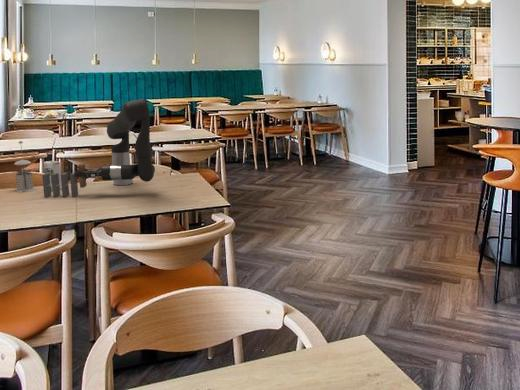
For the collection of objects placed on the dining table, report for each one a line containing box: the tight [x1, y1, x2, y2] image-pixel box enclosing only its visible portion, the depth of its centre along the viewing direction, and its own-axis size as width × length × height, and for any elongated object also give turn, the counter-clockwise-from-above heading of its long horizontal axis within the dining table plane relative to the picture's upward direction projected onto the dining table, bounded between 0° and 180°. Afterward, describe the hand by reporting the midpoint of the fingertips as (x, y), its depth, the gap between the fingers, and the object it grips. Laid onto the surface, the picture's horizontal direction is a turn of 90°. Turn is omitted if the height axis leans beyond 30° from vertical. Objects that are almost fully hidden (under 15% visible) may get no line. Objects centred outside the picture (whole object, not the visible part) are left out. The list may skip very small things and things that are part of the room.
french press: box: [13, 140, 36, 192], centre depth 283 cm, size 10×12×25 cm
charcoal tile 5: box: [41, 172, 52, 198], centre depth 270 cm, size 2×5×11 cm, turn 3°
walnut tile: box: [77, 162, 87, 189], centre depth 269 cm, size 2×5×11 cm, turn 3°
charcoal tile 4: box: [52, 173, 61, 198], centre depth 270 cm, size 2×5×11 cm, turn 3°
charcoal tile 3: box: [61, 172, 70, 198], centre depth 270 cm, size 2×5×11 cm, turn 3°
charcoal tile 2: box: [69, 172, 79, 198], centre depth 270 cm, size 2×5×11 cm, turn 3°
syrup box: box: [43, 160, 62, 192], centre depth 285 cm, size 6×6×14 cm
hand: (76, 173), depth 269 cm, fingers closed on walnut tile, 5 cm apart
